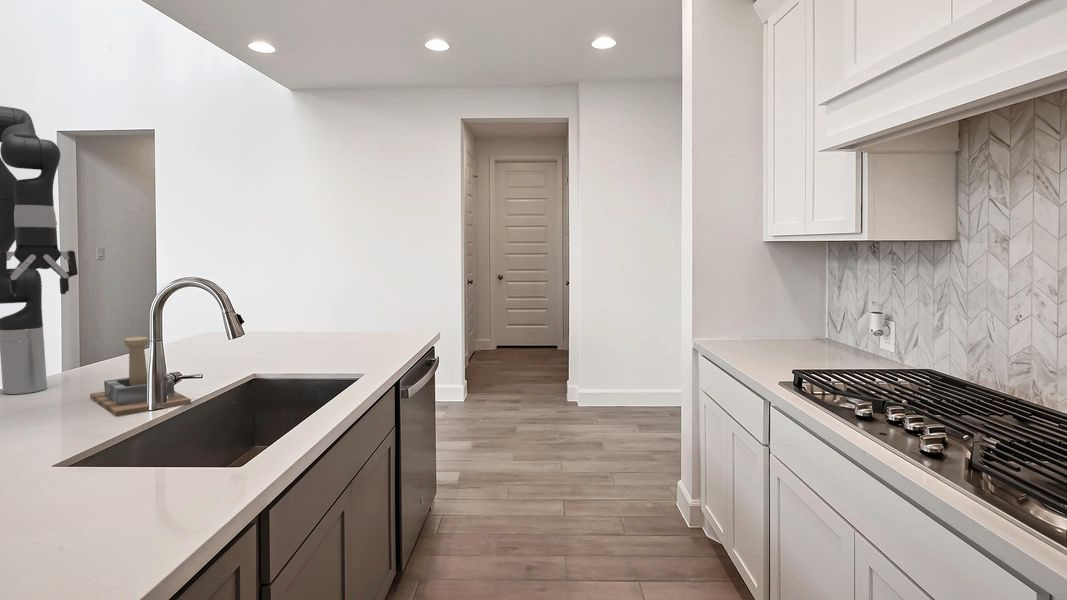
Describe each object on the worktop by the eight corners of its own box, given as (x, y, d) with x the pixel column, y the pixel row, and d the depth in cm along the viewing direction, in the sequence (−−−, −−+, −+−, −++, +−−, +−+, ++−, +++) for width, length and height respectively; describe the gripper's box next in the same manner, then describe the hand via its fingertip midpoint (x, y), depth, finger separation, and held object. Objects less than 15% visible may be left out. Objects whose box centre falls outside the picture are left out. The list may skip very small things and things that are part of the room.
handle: (126, 400, 151) (123, 341, 150) (128, 394, 156) (125, 337, 155) (149, 398, 153) (146, 339, 152) (150, 392, 159) (148, 336, 157)
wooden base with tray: (90, 398, 157) (89, 378, 157) (159, 387, 169) (158, 369, 169) (116, 416, 141) (115, 394, 141) (190, 403, 153) (190, 383, 153)
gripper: (70, 226, 148) (74, 292, 150) (-8, 224, 138) (-3, 295, 139) (77, 226, 143) (81, 294, 145) (-3, 224, 133) (3, 298, 134)
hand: (40, 295), depth 142 cm, fingers open, 8 cm apart
